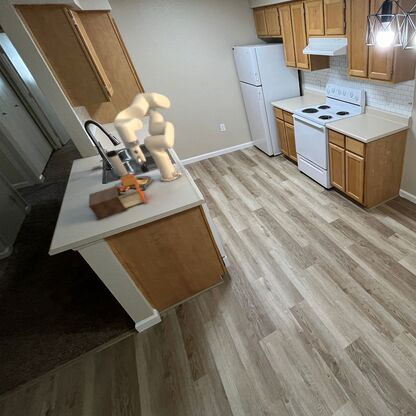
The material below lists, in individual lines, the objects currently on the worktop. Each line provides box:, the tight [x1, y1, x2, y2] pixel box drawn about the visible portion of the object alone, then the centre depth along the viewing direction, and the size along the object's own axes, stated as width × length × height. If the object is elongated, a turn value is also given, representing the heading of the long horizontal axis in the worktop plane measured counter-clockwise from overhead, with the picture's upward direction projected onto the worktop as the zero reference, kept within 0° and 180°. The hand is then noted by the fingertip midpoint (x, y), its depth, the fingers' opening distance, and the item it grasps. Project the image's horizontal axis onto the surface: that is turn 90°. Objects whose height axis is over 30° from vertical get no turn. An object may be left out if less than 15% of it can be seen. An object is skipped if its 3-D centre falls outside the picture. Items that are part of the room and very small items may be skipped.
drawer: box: [118, 180, 147, 209], centre depth 168 cm, size 17×16×10 cm
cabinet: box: [88, 185, 127, 221], centre depth 163 cm, size 14×17×10 cm
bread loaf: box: [119, 173, 137, 186], centre depth 184 cm, size 8×5×6 cm, turn 126°
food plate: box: [113, 175, 153, 195], centre depth 186 cm, size 25×23×4 cm
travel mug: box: [105, 149, 129, 178], centre depth 198 cm, size 6×7×20 cm
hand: (145, 169), depth 167 cm, fingers open, 9 cm apart
